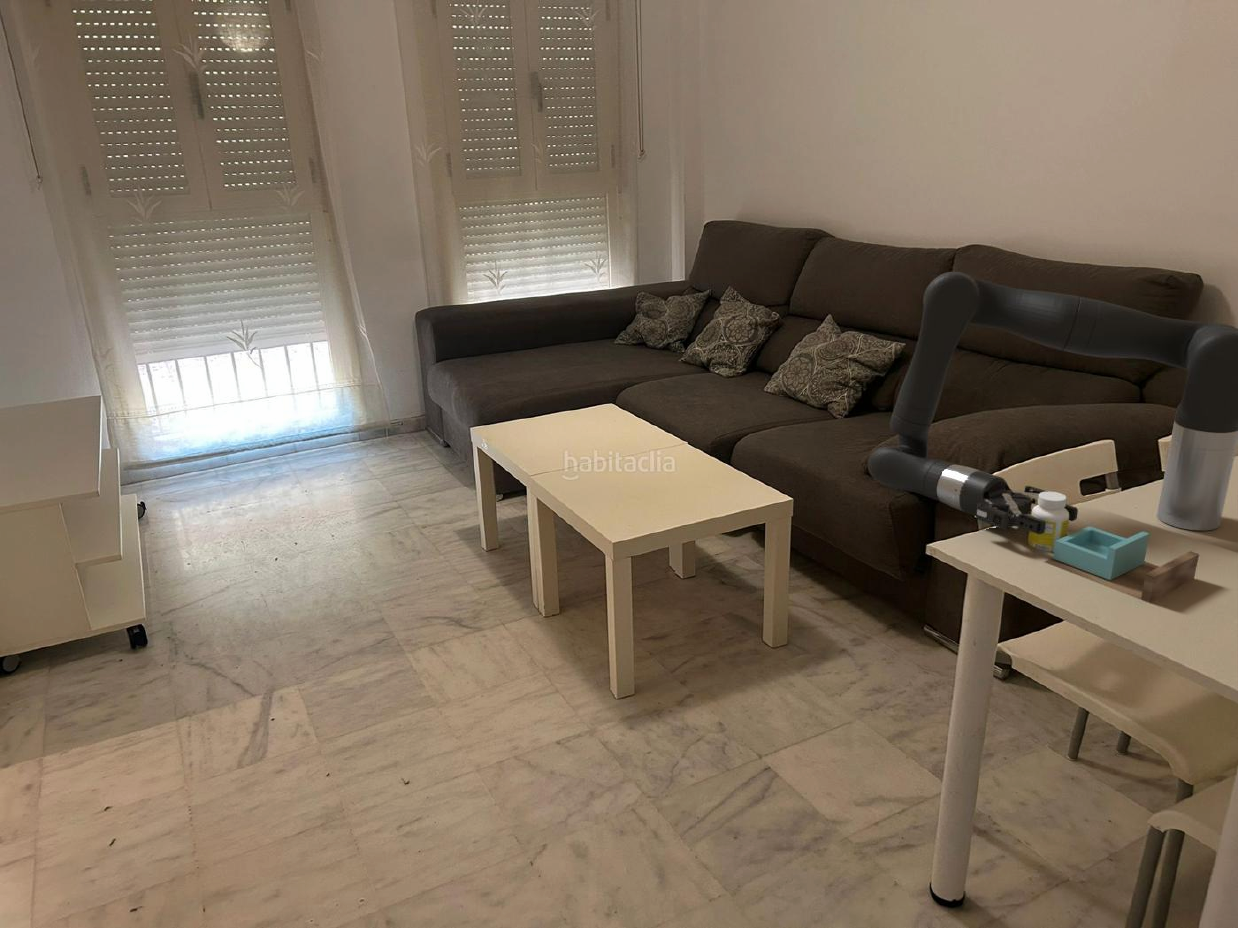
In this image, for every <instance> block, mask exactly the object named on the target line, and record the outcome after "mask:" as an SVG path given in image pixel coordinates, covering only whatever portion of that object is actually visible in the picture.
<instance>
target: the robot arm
mask: <svg viewBox="0 0 1238 928" xmlns="http://www.w3.org/2000/svg"><path fill="white" fill-rule="evenodd" d="M922 304H923V308H922V309H923V310H922V311H923V312H922V317H921V324H920V331H919V335H918V340H917V343H916V346H915V349H914V352H913V356H912V359H911V362H910V365H909V367H908V369H907V372H906V374H905V376H904V379H903V383H902V385H901V387H900V390H899V393H898V395H897V398H896V402H895V404H894V407H893V411H892V414H891V418H890V421H889V426H890V430H891V431H892V432H893V433H894V434H896V435H898V439H897V445H896V446H893V445H892V446H887V445H886V446H881V447H879V448H877V449H875V450H874V451H873V452H872V453H871V454H870V456H869V458H868V462H867V468H868V472H869V474H870V475H871V477H872V478H873V479H874V480H875V481H876V482H878V483H879V484H881V485H883V486H886V487H889V488H893V489H896V490H897V489H898V490H902V491H903V490H904V491H908V492H913V493H917V494H920V495H922V496H925V497H926V498H930V499H932V500H936V501H938V502H941V503H943V504H945V505H946V506H949V507H951V508H953V509H956V510H959V511H961V512H964V513H967V514H970V515H973V516H975V517H976V520H979V521H982V522H983V523H986V524H988V525H991V526H994V527H996V528H999V529H1001V530H1004V531H1008V530H1010V527H1011V528H1013V529H1020V528H1021V529H1023V530H1026V531H1028V532H1029V531H1031V532H1034V533H1036V534H1042V533H1044V532H1045V525H1046V523H1045V521H1044V520H1041V519H1038V518H1035V517H1032V516H1031V513H1032V509H1033V508H1032V505H1034V507H1035V506H1037V505H1039V504H1038V497H1039V494H1040V493H1041V492H1049V490H1048V491H1047V490H1044V489H1040V488H1037V487H1035V486H1030V485H1026V486H1024V491H1022V490H1019V489H1017V490H1016V489H1011V488H1010V487H1009V485H1008V482H1007V480H1006V479H1004V478H1003V477H1001V476H998V475H995V474H991V473H989V472H986V471H983V470H979V469H976V468H974V467H970V466H965V465H959V464H956V463H953V462H949V461H946V460H942V459H940V458H932V457H928V447H929V431H930V428H931V425H932V423H933V420H934V417H935V414H936V411H937V408H938V405H939V402H940V400H941V399H940V398H941V395H942V391H943V388H944V384H945V380H946V376H947V374H948V369H949V365H950V363H951V361H952V358H953V355H954V353H955V349H956V348H957V345H958V343H959V341H960V339H961V337H962V336H963V334H964V331H965V330H966V328H967V326H968V325H972V326H973V325H974V326H980V327H985V328H992V329H998V330H1001V331H1006V332H1008V333H1011V334H1013V335H1015V336H1017V337H1021V338H1023V339H1025V340H1028V341H1030V342H1032V343H1033V342H1034V343H1036V344H1039V345H1042V346H1045V347H1048V348H1052V349H1056V350H1059V351H1064V352H1066V353H1067V352H1068V353H1073V354H1078V355H1082V356H1089V357H1094V358H1104V359H1105V358H1106V359H1107V358H1108V359H1110V358H1111V359H1140V360H1141V359H1143V360H1148V361H1152V362H1153V361H1154V362H1158V363H1161V364H1165V365H1167V366H1172V367H1175V368H1178V369H1181V370H1185V371H1186V372H1187V376H1186V381H1185V386H1184V391H1183V395H1182V399H1181V402H1180V403H1179V404H1178V405H1177V408H1176V409H1175V410H1176V412H1175V417H1174V422H1173V426H1172V427H1173V428H1172V432H1171V438H1170V444H1169V449H1168V453H1167V454H1168V455H1167V460H1166V463H1165V464H1166V465H1165V470H1164V476H1163V481H1162V485H1161V491H1160V496H1159V501H1158V506H1157V514H1156V516H1157V518H1158V519H1159V520H1160V521H1161V522H1163V523H1165V524H1167V525H1170V526H1172V527H1175V528H1180V529H1185V530H1190V531H1212V530H1216V529H1218V528H1219V527H1220V526H1221V521H1222V517H1223V512H1224V506H1225V502H1226V498H1227V493H1228V490H1229V489H1228V488H1229V485H1230V480H1231V477H1232V476H1231V475H1232V471H1233V465H1234V462H1235V457H1236V452H1237V447H1238V328H1237V327H1235V326H1234V325H1233V326H1232V325H1229V324H1224V323H1215V322H1206V321H1196V320H1195V321H1193V320H1184V319H1175V318H1169V317H1164V316H1158V315H1156V314H1151V313H1148V312H1144V311H1141V310H1138V309H1134V308H1130V307H1127V306H1122V305H1118V304H1115V303H1110V302H1106V301H1103V300H1099V299H1092V298H1088V297H1084V296H1083V297H1082V296H1078V295H1071V294H1066V293H1059V292H1052V291H1043V290H1040V291H1039V290H1033V289H1032V290H1031V289H1020V288H1014V287H1009V286H1006V285H1001V284H997V283H994V282H992V281H987V280H984V279H981V278H978V277H975V276H973V275H969V274H967V273H964V272H961V271H948V272H944V273H941V274H940V275H937V276H936V277H935V278H934V279H933V280H932V281H931V282H930V283H929V285H927V288H926V289H925V292H924V295H923V303H922ZM1064 508H1065V509H1066V510H1067V511H1068V512H1069V521H1071V522H1074V521H1076V520H1077V519H1078V513H1079V509H1078V508H1077V507H1076V506H1073V505H1070V504H1067V503H1066V506H1065V507H1064ZM999 518H1000V519H1001V521H999Z"/></svg>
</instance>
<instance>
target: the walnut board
mask: <svg viewBox="0 0 1238 928" xmlns="http://www.w3.org/2000/svg"><path fill="white" fill-rule="evenodd" d="M1199 557H1200V554H1199V553H1197V552H1194V551H1191V550H1190V551H1188V552H1186V553H1184V554H1182V555H1180V556H1178V557H1175V558H1174V559H1173V560H1170V561H1168V562H1166V563H1165V564H1162V565H1161V566H1159V565H1156V564H1154V563H1150V562H1147V561H1145V560H1144V564H1142V565H1140V566H1138V567H1136V568H1134V569H1132V570H1130V571H1128V572H1126V573H1124V574H1122V575H1120V576H1118V577H1116V578H1114V579H1112V580H1108V579H1105V578H1103V577H1100V576H1098V575H1095V574H1092V573H1090V572H1087V571H1085V570H1082V569H1079V568H1077V567H1074V566H1071V565H1069V564H1066V563H1064V562H1061V561H1058V560H1056V559H1053V557H1051V558H1049V559H1047V560H1045V561H1043V563H1045V564H1048V565H1050V566H1053V567H1056V568H1058V569H1061V570H1063V571H1067V572H1069V573H1070V574H1071V573H1072V574H1074V575H1077V576H1079V577H1081V578H1085V579H1086V580H1089V581H1092V582H1094V583H1097V584H1100V585H1103V586H1105V587H1108V588H1110V589H1112V590H1116V591H1117V592H1120V593H1122V594H1125V595H1128V596H1131V597H1133V598H1136V599H1139V600H1141V601H1143V602H1146V603H1148V604H1151V603H1152V602H1154V601H1156V600H1158V599H1159V598H1161V597H1163V596H1166V595H1168V593H1171V592H1173V591H1175V590H1176V589H1178V588H1180V587H1182V586H1184V585H1186V584H1188V583H1190V582H1191V581H1193V580H1195V576H1196V571H1197V566H1198V561H1199Z"/></svg>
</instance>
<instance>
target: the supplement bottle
mask: <svg viewBox="0 0 1238 928" xmlns="http://www.w3.org/2000/svg"><path fill="white" fill-rule="evenodd" d="M1038 504H1039V505H1037V506H1035V505H1034V507H1033V508H1031V509H1032V513H1031V515H1030V516H1032V517H1035V518H1038V519H1041V520H1044V521H1045V523H1046V525H1045V532H1044V533H1042V534H1036V533H1034V532H1031V531H1028V532H1029V533H1028V539H1027V543H1028V545H1029V546H1030V547H1032V548H1034V549H1037V550H1039V551H1044V552H1054V548H1055V541H1056V540H1058V539H1061V538H1063V537H1065V536H1068V527H1069V521H1070V520H1069V512H1068V511H1067V510H1066V509H1065V508H1064V507H1065V506H1066V504H1067V496H1066V495H1065V494H1064V493H1060V492H1056V491H1048V492H1041V493H1040V494H1039V497H1038Z"/></svg>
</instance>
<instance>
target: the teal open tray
mask: <svg viewBox="0 0 1238 928" xmlns="http://www.w3.org/2000/svg"><path fill="white" fill-rule="evenodd" d="M1149 537H1150V533H1149V532H1146V531H1143V530H1142V531H1141V532H1138V533H1136V534H1134V535H1131V536H1129V537H1127V538H1126V537H1122V536H1119V535H1117V534H1114V533H1111V532H1108V531H1105V530H1103V529H1099V528H1095V527H1093V526H1090V525H1088V526H1086V527H1084V528H1082V529H1080V530H1077V531H1075V532H1073V533H1070V534H1067V536H1065V537H1063V538H1061V539H1058V540H1056V541H1055V548H1054V551H1053V555H1052V558H1053V559H1056V560H1058V561H1061V562H1064V563H1066V564H1069V565H1071V566H1074V567H1077V568H1079V569H1082V570H1085V571H1087V572H1090V573H1092V574H1095V575H1098V576H1100V577H1103V578H1105V579H1108V580H1112V579H1114V578H1116V577H1118V576H1120V575H1122V574H1124V573H1126V572H1128V571H1130V570H1132V569H1134V568H1136V567H1138V566H1140V565H1142V564H1144V561H1145V559H1146V555H1147V554H1146V553H1147V549H1148V543H1149V539H1150V538H1149Z"/></svg>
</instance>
